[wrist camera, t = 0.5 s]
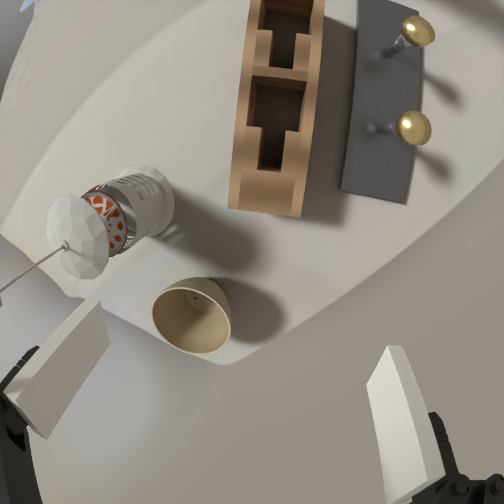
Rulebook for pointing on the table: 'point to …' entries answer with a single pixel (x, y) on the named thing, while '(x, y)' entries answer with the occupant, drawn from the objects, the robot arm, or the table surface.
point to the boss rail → (385, 100)
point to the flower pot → (193, 316)
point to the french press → (107, 221)
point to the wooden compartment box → (253, 76)
